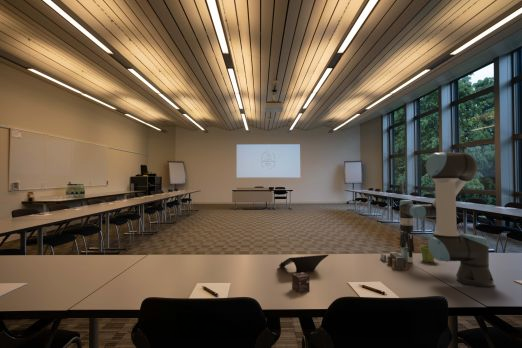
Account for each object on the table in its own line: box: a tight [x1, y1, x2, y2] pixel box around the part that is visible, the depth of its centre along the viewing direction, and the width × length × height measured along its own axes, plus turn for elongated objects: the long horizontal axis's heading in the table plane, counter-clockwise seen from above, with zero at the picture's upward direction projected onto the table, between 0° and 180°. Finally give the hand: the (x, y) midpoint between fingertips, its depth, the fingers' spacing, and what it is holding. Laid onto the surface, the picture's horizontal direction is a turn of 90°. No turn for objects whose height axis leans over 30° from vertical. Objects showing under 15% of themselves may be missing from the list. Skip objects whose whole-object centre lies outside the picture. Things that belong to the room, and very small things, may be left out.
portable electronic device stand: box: [278, 254, 329, 274], centre depth 167 cm, size 23×23×9 cm
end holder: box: [380, 252, 388, 263], centre depth 189 cm, size 8×8×4 cm
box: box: [291, 272, 310, 294], centre depth 138 cm, size 6×6×7 cm
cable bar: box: [389, 251, 404, 268], centre depth 176 cm, size 4×12×6 cm, turn 175°
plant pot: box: [419, 244, 435, 263], centre depth 188 cm, size 9×9×9 cm
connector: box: [400, 246, 409, 263], centre depth 189 cm, size 5×5×8 cm
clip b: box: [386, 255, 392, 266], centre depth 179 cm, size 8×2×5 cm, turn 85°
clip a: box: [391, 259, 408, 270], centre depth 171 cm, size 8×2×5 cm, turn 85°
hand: (406, 259), depth 189 cm, fingers open, 10 cm apart
